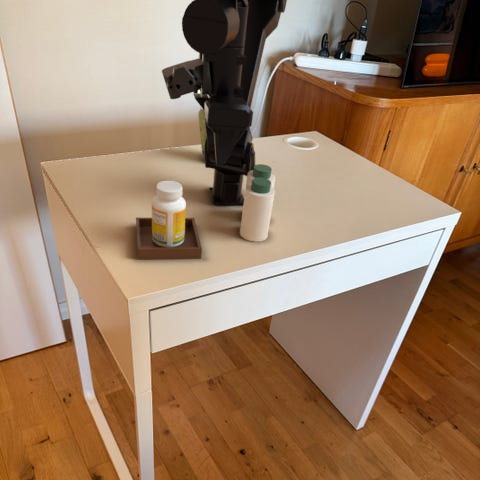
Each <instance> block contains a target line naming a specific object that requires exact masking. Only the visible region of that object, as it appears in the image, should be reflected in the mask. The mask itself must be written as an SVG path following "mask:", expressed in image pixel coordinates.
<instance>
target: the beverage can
mask: <svg viewBox="0 0 480 480" xmlns="http://www.w3.org/2000/svg"><path fill="white" fill-rule="evenodd" d="M197 114H198V124H199V135H200V145H201V156H202V158H203V159H204V160H205V141H206V138H207V136H206V129H205V121H204V114H203V108H202V107H201V106H200V108H199V111H198V113H197Z"/></svg>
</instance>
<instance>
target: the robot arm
mask: <svg viewBox="0 0 480 480" xmlns="http://www.w3.org/2000/svg"><path fill="white" fill-rule="evenodd" d="M287 2H288V0H192V1H191V2H190V3H189V4H188V5H187V7H186V8H185V10H184V12H183V16H182V17H181V30H182V34H183V37H184V39H185V41H186V44H188V46H189V47H190V48H191V49H192V50H194V51H195V52H197V53H198V58H195V59H191V60H186V61H183V62H180V63H176V64H173V65H170V66H167V67H165V68H163V69H161V74H162V77H163V81H164V83H165V86H166V90H167V93H168V95H169V100H176V99H177V100H178V99H180V98H181V97H182V96H184V95H188V94H191V93H192V95H193V97H194V100H195V101H196V102H197V104H198V105H199V106H200V107H202V108H203V114H204V121H205V129H206V136H207V138H206V141H205V159H204V166H205V168H206V169H212V170H213V171H214V172H213V182H212V183H213V184H212V187H208V193H209V196H210V200H211V203H212V204H213V205H219V206H221V205H222V206H223V205H224V206H225V205H227V206H230V205H231V206H243V204H244V195H243V194H242V191H243V183H244V176H245V177H247V174H248V172H249V171H252V170H253V168H254V166H255V165H256V150H255V147H254V143H253V134H252V132H251V131H252V130H251V127H252V124H253V118H254V111H253V110H252V108H251V107H252V104H253V99H254V94H255V89H256V85H257V80H258V77H259V71H260V67H261V63H262V58H263V54H264V49H265V45H266V40H267V38H269V36H271V34H273V32H275V30H276V29H277V28H278V26H279V23H280V19H281V15H282V14H284V13H285V11H286V6H287Z"/></svg>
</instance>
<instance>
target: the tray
mask: <svg viewBox="0 0 480 480" xmlns="http://www.w3.org/2000/svg"><path fill="white" fill-rule="evenodd" d="M135 229H136V244H137V246H136V247H137V259H138V260H194V259H195V260H199V259H202V253H203V247H202V244H201V240H200V235H199V231H198V228H197V223H196V220H195V217H185V234H184V241H183V243H182V244H181V245H178V246H176V247H169V248H167V247H161V246H159V245H157V244H156V243H154V241H153V239H152V217H135Z"/></svg>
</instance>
